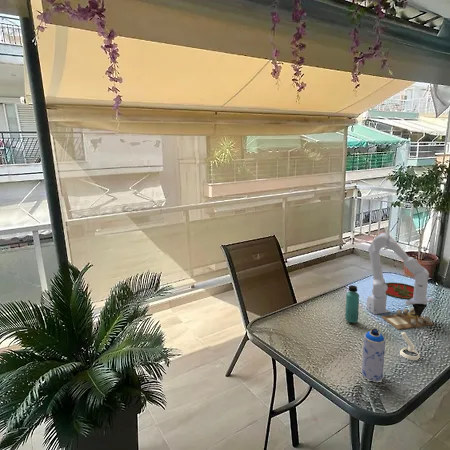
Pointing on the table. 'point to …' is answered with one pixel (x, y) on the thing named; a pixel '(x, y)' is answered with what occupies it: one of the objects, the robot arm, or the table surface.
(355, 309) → the beverage bottle
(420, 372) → the table surface
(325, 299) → the table surface
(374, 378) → the aerosol can
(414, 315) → the brass nut
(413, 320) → the board
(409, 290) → the decorative plate
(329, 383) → the table surface
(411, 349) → the hook
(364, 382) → the table surface
